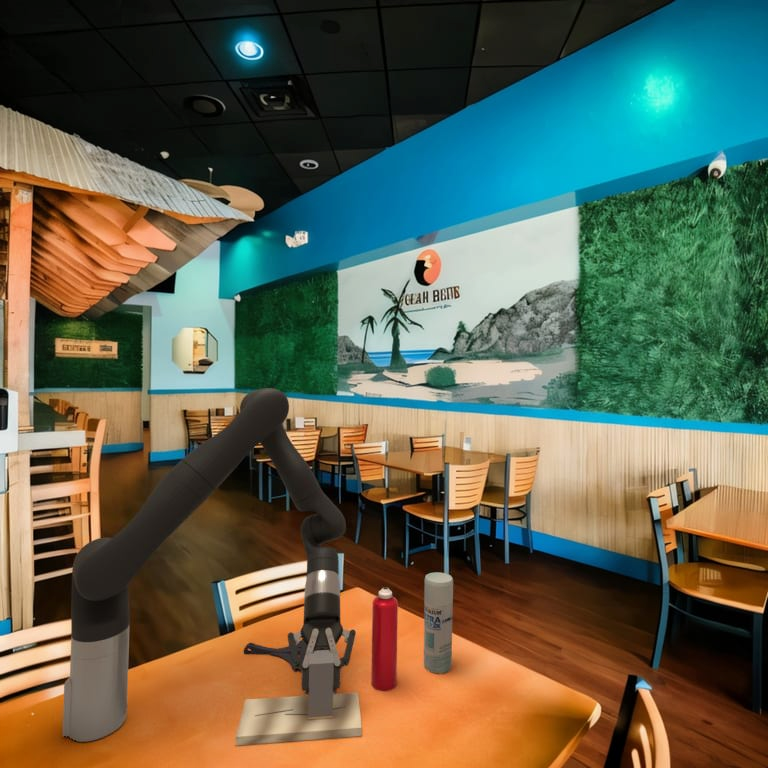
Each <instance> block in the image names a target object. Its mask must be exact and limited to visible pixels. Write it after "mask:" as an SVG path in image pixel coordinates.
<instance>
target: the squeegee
mask: <svg viewBox="0 0 768 768" xmlns="http://www.w3.org/2000/svg"><path fill="white" fill-rule="evenodd" d="M296 647H297V652H298V656H299V659H300V660H303V661H304V658H305V655H306V651H307V647H308V646H307V645H306V643H305V642H304V640H303V639H302V638H301V640H300V639H299V644H298V645H297V646H296ZM243 654H244V655H267V656H268V655H270V656H275V657H278V658H280V659H282V660H284V661H286V662H287V663H288V664H289V665H290V667H291V669H292V671H293V672H294V673H296V672H297V669H298V668H297V669H295V668H294V666H293V662H292V657H291V652H290V648H289V645H288V646H284V647H278V648H275V647H268V646H263V645H260V644H256V643H253V642H248V643H247V644H246V645H245V646H244V648H243ZM299 672H300V673H302V671H301V670H300V669H299Z"/></svg>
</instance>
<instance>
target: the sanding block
mask: <svg viewBox="0 0 768 768" xmlns="http://www.w3.org/2000/svg"><path fill="white" fill-rule="evenodd" d="M333 674H334V658H333V653H331V651H330V650H317V651H313V653H312V654H310V658H309V694H308V696H309V700H308V719H322V718H333V694H334V692H333Z"/></svg>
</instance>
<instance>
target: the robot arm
mask: <svg viewBox="0 0 768 768" xmlns="http://www.w3.org/2000/svg"><path fill="white" fill-rule="evenodd" d="M289 411H290V404H289V399H288V397H287V396H286V394H285V393H284V392H282V391H281V390H278V388H277V389H276V388H271V387H263V388H260V389H255V390H253V391H250V392H249V393H247V394H246V395H245V396H244V397H243V398H242V399H241V401H240V405H239V412H238V414H237V415H236V416H235V417H234V418H233V419H232V420H231V422H229V424H227V425H226V426H225V427H224V428H223V429H222V430H220V431H219V432H217V433H216V434H215V435H213V436H212V437H210V438H208V439H207V440H205V441H204V442H203V443H201V444H200V445H198V446H197V447H196V448H194V449H193V450H192V451H190V452H189V453H187V455H186V456H184V457H183V458H182V459H181V460H180V461H179V462H177V463H176V465H174V466H173V467H172V468H171V470H169V471H168V472H167V474H165V475H164V477H162V478H161V480H160V482H158V484H157V485H156V486H155V487H154V489H153V490H152V492H151V493H150V495H149V496H148V498H147V499H146V501H145V502H144V504H143V505H142V507H141V508H140V510H139V511H138V512H137V513H136V515H135V516H134V517H133V518H132V519H131V521H130V522H128V523H127V524H126V525H125V526H124V527H123V528H122V529H121V530H119V532H117V534H115V535H113V537H100V538H95V539H94V540H91V541H90V542H89V541H88V543H86V544H85V545H84V546H83V547H81V549H80V550H79V551H78V552H77V553H76V555H75V558H74V560H73V564H72V569H71V570H72V572H71V601H70V602H71V606H70V610H71V611H70V617H71V618H70V619H71V625H70V626H71V629H70V630H71V632H70V634H71V637H70V639H71V640H70V641H71V642H70V665H69V666H70V667H69V668H70V671H69V677H68V678H67V679H66V680H65V682H64V684H63V685H64V686H63V706H62V707H63V713H62V736H63V737H62V738H69V737H70V739H71V738H72V739H73V741H75V740H76V742H81V743H83V742H92V741H96V740H99V739H102V738H104V737H105V738H106V737H107V736H109V735H110V734H112V733H114V732H115V731H117V730H118V729H119V728H120V727H122V725H123V724H124V723H125V721H126V720H127V714H128V711H127V709H128V688H129V687H128V685H129V655H130V654H129V653H130V652H129V650H130V649H129V648H130V624H131V623H130V621H131V620H130V619H131V618H130V617H131V616H130V614H131V609H130V603H129V584H130V583H131V582H132V580H133V579H134V578H135V577H136V575H137V574H138V573H139V572H140V571H141V569H142V568H143V567H144V565H146V563H147V561H149V559H150V558H151V557H152V556H153V555H154V553H155V552H156V551H157V549H158V548H159V547H160V546H161V545H162V544H163V543H164V542H165V541H166V540H168V538H169V537H170V536H171V535H172V534H173V533H175V531H177V530H178V528H179V527H180V526H181V525H182V524H184V522H185V521H186V520H187V519H189V517H191V515H192V514H193V513H194V512H195V511H196V510H197V509H199V508H200V507H201V505H202V504H204V502H205V501H207V500H208V498H210V496H211V495H212V494H213V493H214V492H215V491H216V490H218V488H219V487H220V486H221V485H222V483H223V482H225V480H226V479H227V478H228V477H229V476H230V475H231V474H232V473H233V471H234V470H235V469H236V468H237V467H238V466H239V464H241V462H242V461H243V460H244V459H245V458H246V457H247V456H248V454H249V453H250V452H251V451H252V450H253V449H254V448H255V447H257V446H258V445H259V444H260V445H261V446H262V448H263V449H264V450H265V452H266V454H267V455H268V457H269V459H270V461H271V462H272V465H273V466H274V469H276V471H277V473H278V476H279V478H280V479H281V480H282V481H281V482H282V483H283V485H284V487H285V489H286V491H287V493H288V495H289V496H290V499H291V501H292V503H293V505H294V507H295V508H296V510H298V511H299V512H315V514H311V515H308V516H307V517H305V518H304V519H303V522H302V523H301V527H300V535H301V539H302V543H303V547H304V550H305V551H304V552H305V557H306V578H305V579H306V580H305V585H304V596H303V599H304V602H303V603H304V604H303V624H302V627H301V629H300V630H299V631H297V632H294V633H293V632H289V633H288V634H287V642H288V646H289V648H290V652H291V657H292V662H293V666H294V668H295V669H298V670H299V671H300V670H301V671H302V672H301V689H302V691H303V692H304V691H305V693H304V694H305V695H309V658H310V654H312V653H313V651H317V650H330V651H331V653H333V658H334V674H333V693H338V692H337V690H338V689H340V687H341V669H342V668H343V667H347V666H348V665H349V664H350V661H351V656H352V651H353V647H354V643H355V638H356V630H355V629H351V630H348V629H345V628H343V625H342V623H341V583H340V578H339V577H340V576H339V573H340V572H339V571H340V570H339V561H340V560H339V553H338V552H337V550H336V549H335V548H333V547H329V546H322V545H323V544H325V543H329V542H331V541H334V540H338V539H340V538H342V537H343V536H344V534H345V533H346V529H347V524H346V519H345V516H344V514H343V513H342V511H341V510H340V509H339V507H337V505H335V504H334V503H333V501H332V500H331V499H330V498H329V497H328V496H327V495H326V494H325V493H324V491H323V490H322V488H321V486H320V484H319V482H318V480H317V478H316V476H315V474H314V472H313V471H312V469H311V467H310V466H309V464H308V462H307V461H306V459H304V457H303V456H302V454H301V453H300V452H299V451H298V450H297V448H296V447H295V445H294V443H292V441H291V440H290V438H289V436H288V434H287V432H286V430H285V428H284V422H285V420H286V419H287V417H288V415H289ZM342 636H343V638H344V639H343V640H344V643H346V645H345V646H346V647H345V651H344V654H343V656H342V657H340V656H339V652H338V648H337V644H338V642H339V640H340V639H341V637H342ZM300 639H301V640H302V639H303V640H304V642H305V643H306V645H307V646H308V647H307V651H306V655H305V658H304V661H303V660H300V659H299V655H298V652H297V647H296V646H297V645H298V644H299V641H300ZM64 736H66V737H64ZM67 736H69V737H67ZM72 739H71V740H72Z"/></svg>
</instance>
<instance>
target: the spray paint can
mask: <svg viewBox="0 0 768 768" xmlns="http://www.w3.org/2000/svg"><path fill="white" fill-rule="evenodd" d="M423 595H424V601H423V603H424V606H423V609H424V612H423V613H424V615H423V619H424V621H423V666H425V667H424V668H425V669H427V671H428V670H429V671H430V672H429V671H428V672H429V673H432V672H433V673H432V674H435V673H444V674H447V673H449V672H450V671H451V669H452V661H453V659H452V658H453V657H452V654H453V653H452V652H453V651H452V648H453V647H452V646H453V605H454V579H453V577H452V575H450V574H448V573H445V572H441V571H440V572H437V571H436V572H430V573H428V574H426V575H425V578H424V594H423ZM449 670H450V671H449ZM448 671H449V672H448ZM446 672H447V673H446Z"/></svg>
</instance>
